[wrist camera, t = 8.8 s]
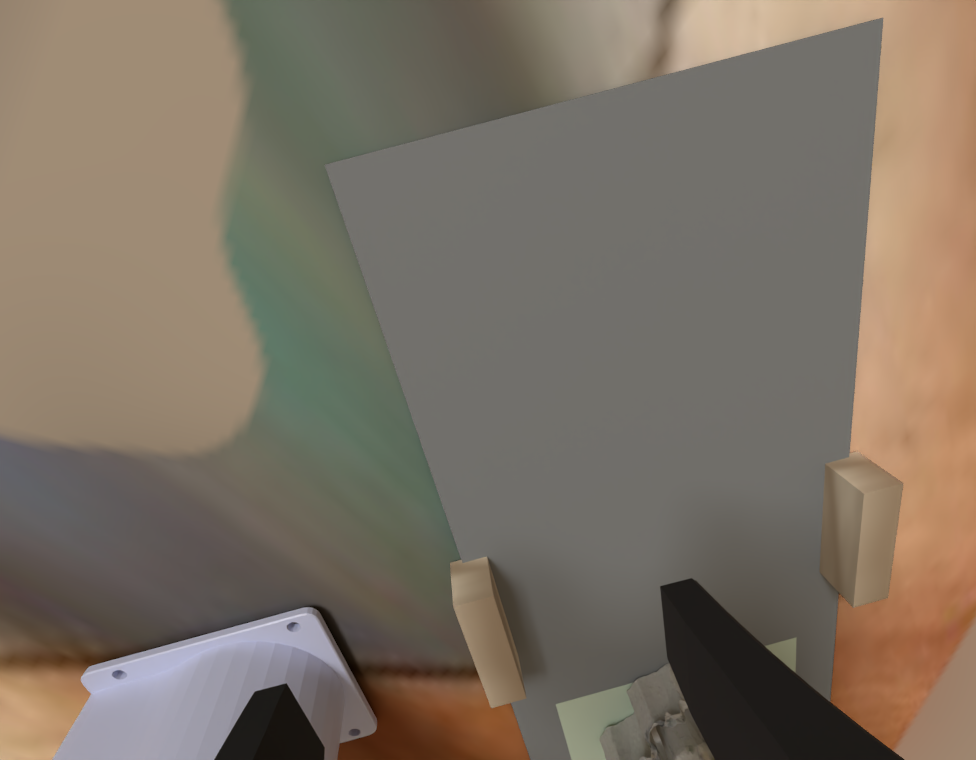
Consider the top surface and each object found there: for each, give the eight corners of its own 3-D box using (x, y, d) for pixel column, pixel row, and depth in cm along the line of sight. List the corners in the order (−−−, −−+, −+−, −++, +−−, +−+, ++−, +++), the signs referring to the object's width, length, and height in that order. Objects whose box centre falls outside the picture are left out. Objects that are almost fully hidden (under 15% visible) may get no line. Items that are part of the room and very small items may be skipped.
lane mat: (558, 837, 30) (558, 841, 30) (325, 164, 14) (324, 164, 14) (822, 762, 30) (825, 766, 30) (877, 19, 15) (883, 17, 14)
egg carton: (821, 681, 27) (887, 767, 23) (743, 770, 29) (791, 861, 26) (648, 648, 24) (691, 740, 20) (578, 750, 27) (605, 848, 23)
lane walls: (485, 660, 23) (491, 708, 21) (449, 562, 21) (453, 606, 19) (848, 559, 23) (887, 597, 22) (857, 451, 21) (903, 482, 19)
